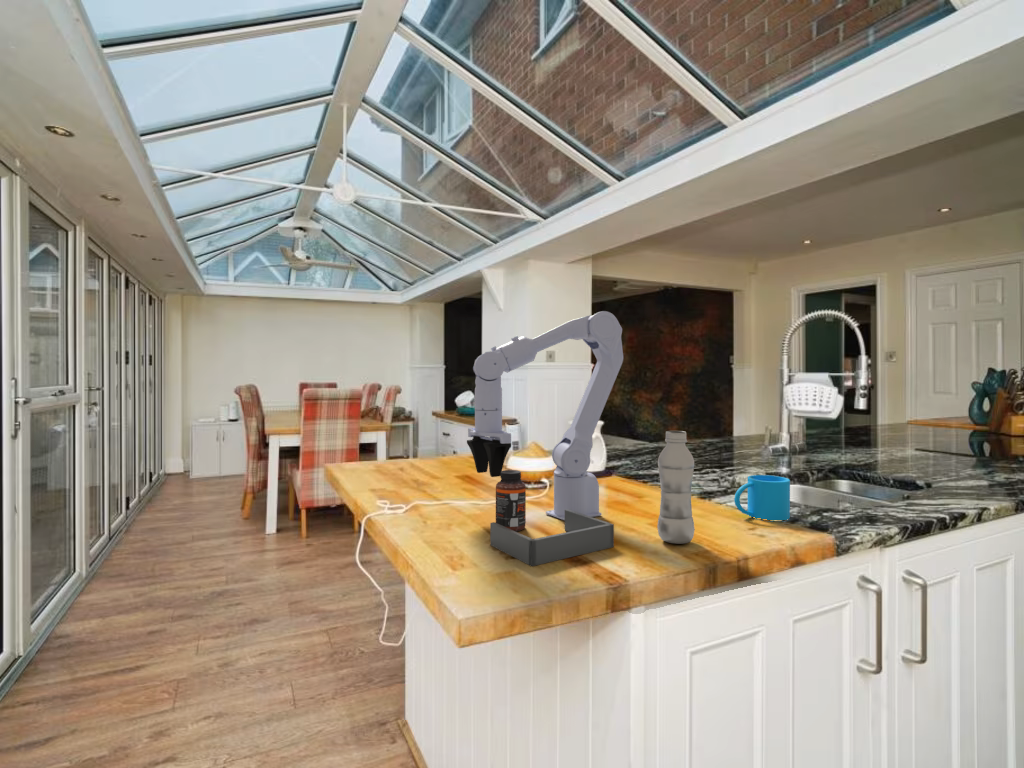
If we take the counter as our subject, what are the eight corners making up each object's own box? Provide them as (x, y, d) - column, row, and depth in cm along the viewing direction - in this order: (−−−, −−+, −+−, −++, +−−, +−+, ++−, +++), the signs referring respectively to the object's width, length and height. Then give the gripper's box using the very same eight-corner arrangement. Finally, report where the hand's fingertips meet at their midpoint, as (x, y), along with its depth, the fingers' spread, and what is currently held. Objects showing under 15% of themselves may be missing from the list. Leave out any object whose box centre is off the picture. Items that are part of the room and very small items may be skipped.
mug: (772, 510, 121) (772, 474, 121) (798, 520, 113) (798, 481, 113) (723, 513, 119) (723, 476, 118) (746, 523, 111) (746, 483, 110)
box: (567, 529, 106) (567, 509, 106) (613, 546, 96) (613, 524, 96) (490, 545, 97) (490, 522, 97) (531, 566, 86) (531, 541, 86)
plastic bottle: (694, 538, 100) (695, 430, 100) (694, 549, 94) (694, 434, 94) (658, 535, 103) (658, 429, 102) (655, 546, 96) (656, 433, 96)
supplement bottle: (522, 533, 104) (522, 474, 104) (492, 531, 105) (492, 473, 105) (528, 525, 110) (528, 469, 110) (499, 523, 111) (499, 468, 111)
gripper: (455, 408, 118) (455, 471, 118) (489, 412, 106) (489, 482, 106) (483, 407, 122) (484, 468, 122) (519, 411, 110) (519, 478, 110)
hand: (488, 474), depth 114 cm, fingers open, 5 cm apart
